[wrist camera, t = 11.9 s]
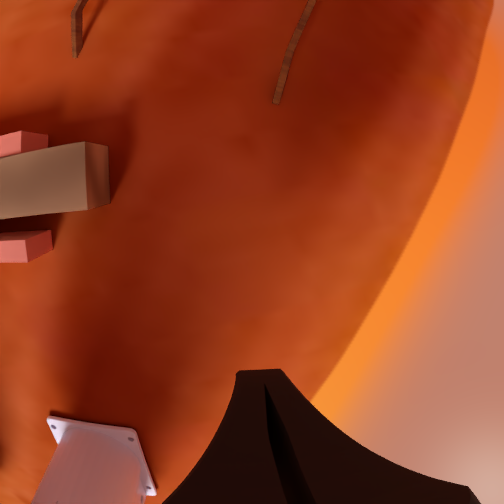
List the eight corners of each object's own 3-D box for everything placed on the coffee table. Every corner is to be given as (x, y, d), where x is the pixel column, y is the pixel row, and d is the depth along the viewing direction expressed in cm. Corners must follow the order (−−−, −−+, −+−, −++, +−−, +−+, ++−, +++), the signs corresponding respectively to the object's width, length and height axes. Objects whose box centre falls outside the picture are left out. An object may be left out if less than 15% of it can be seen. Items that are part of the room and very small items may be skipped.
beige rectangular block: (111, 202, 17) (87, 210, 13) (-3, 215, 16) (-35, 224, 13) (109, 146, 16) (84, 141, 13) (-6, 167, 15) (-39, 169, 12)
